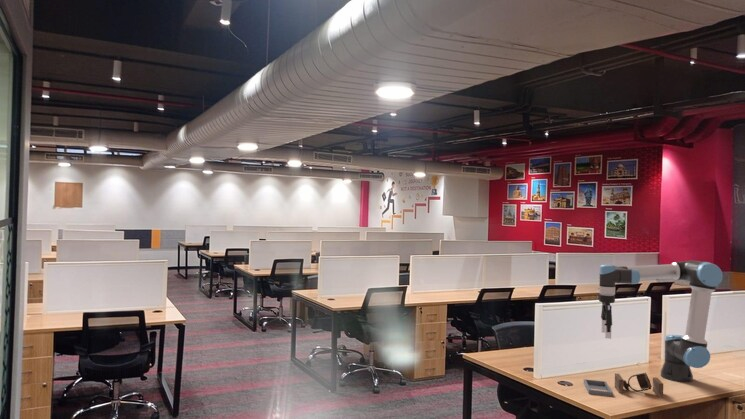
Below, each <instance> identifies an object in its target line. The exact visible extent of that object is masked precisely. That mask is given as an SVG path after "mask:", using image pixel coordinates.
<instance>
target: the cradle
mask: <svg viewBox="0 0 745 419" xmlns="http://www.w3.org/2000/svg"><path fill="white" fill-rule="evenodd" d="M624 380H625V379H624V378H623V377H622V376H621V375H620V373H614V388H615V390H616V391H617V393H618V394H624ZM652 392H653V393H654V394H655V396H656V397H658V398H661V399H663V398H664V383H663V382H662V381H661V379H659V377H656V376H655V377H654V376H653V377H652Z"/></svg>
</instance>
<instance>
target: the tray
mask: <svg viewBox="0 0 745 419" xmlns="http://www.w3.org/2000/svg"><path fill="white" fill-rule="evenodd" d="M583 384H584V387H585V389H586V391H587V393H588V395H595V394H596V395H595V396H605V397H613V394H614V393H613V390H612V389H611V388H610V385H609V384H608V383H607V381H606V380H595V379H588V378H587V379H585V378H583Z"/></svg>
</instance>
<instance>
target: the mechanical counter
mask: <svg viewBox="0 0 745 419" xmlns="http://www.w3.org/2000/svg"><path fill="white" fill-rule="evenodd" d="M633 377H636V379H637V383H638V386H639V387H640V389H635V388H633V387H632V385H631V384H630V380H631V379H632V378H633ZM623 380H624V386H623V389H625V390H626V391H630V389H631V390H632V391H635V392H643V391H648V390H652V388H653V385H652V383H651V380H650V379H649V377H648V374H647V372H641V373H637V374H633V375H631V376H630V377H628V380H627V381H626V380H625V379H623Z"/></svg>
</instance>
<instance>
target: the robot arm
mask: <svg viewBox="0 0 745 419" xmlns="http://www.w3.org/2000/svg"><path fill="white" fill-rule="evenodd" d="M598 273H599V287H598V288H597V289H598V290H599V292H598V293H599V295H598V301H599V302H600V303H602V305H601V312H600V313H601V314H600V315H601V316H600V318H601V329H600V330H601V333H604V338H605V339H612V325H613V315H612V308H613V307H612V305H611V304H614V303H615V302H616V296H615V295H616V284H627V285H637V284H638V283H640V281H641V280H657V279H658V280H660V279H661V280H662V279H664V280H666V279H673V280H675V281H685V282H686V281H687V282H689V283H688V284H689V286H688V287H690V289H691V294H690V300H689V307H688V314H687V320H686V327H685V332H684V335H681V334H667V335H665V337H664V361H663V365H662V367H661V369H660V376H661V377H662V378H663V379H667V380H671V381H674V382H680V383H690V382H693V380H694V376H693V373H692V372H693V371H692V369H691V368H695V369H702V368H704V367H705V366H707V365H708V364H709V363H710V360H711V352H709V350H708V341H706V331H707V325H708V318H709V312H710V305H711V299H712V298H711V297H712V294H713V293H714V292H715V291H717V286H719V284H721V283H722V281H723V272H722V270H721V268H720V267H719V265H717V264H714V263H711V262H709V261H700V260H693V259H692V260H685V261H684V260H683V261H674V262H671V263H670V264H669V263H668V264H650V265H648V264H647V265H645V264H644V265H627V266H623V265H622V266H616V265H614V264H601V265H600V266H599V272H598Z"/></svg>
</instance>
